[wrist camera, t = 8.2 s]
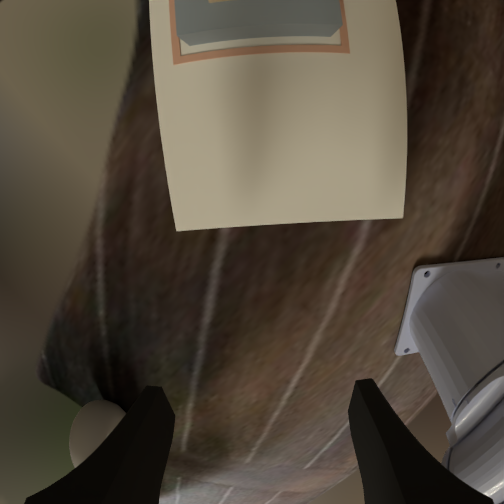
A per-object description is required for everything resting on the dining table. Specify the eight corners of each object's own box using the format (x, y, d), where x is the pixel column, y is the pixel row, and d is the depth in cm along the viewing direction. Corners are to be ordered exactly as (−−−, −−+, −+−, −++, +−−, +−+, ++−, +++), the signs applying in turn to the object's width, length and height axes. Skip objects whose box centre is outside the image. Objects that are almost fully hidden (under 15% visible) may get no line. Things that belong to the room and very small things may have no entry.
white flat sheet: (376, -63, 9) (379, -67, 8) (398, 214, 17) (403, 218, 16) (151, -54, 10) (148, -59, 9) (179, 227, 18) (176, 231, 17)
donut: (148, 434, 29) (130, 507, 20) (123, 430, 29) (102, 499, 20) (114, 380, 25) (78, 469, 16) (85, 377, 25) (48, 458, 16)
